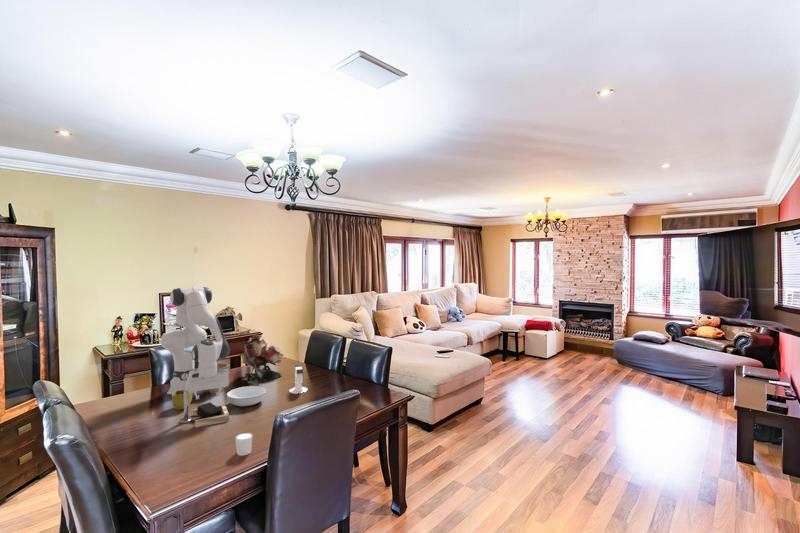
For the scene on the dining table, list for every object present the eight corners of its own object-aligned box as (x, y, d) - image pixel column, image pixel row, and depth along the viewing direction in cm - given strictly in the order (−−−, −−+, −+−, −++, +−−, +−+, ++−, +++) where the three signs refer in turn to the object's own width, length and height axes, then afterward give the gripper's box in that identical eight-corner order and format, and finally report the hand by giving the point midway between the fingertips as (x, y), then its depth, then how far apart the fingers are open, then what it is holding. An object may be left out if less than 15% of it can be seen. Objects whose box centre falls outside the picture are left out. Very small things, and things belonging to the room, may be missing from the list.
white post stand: (309, 392, 239) (309, 368, 239) (290, 394, 235) (290, 370, 235) (306, 386, 250) (306, 363, 250) (288, 388, 246) (288, 365, 246)
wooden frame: (193, 415, 204) (193, 409, 204) (224, 409, 212) (224, 403, 212) (195, 427, 189) (195, 421, 189) (229, 420, 197) (229, 415, 197)
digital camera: (207, 424, 195) (220, 419, 201) (208, 414, 194) (221, 410, 200) (196, 416, 200) (209, 411, 206) (197, 406, 200) (210, 402, 206)
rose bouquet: (288, 374, 276) (288, 333, 276) (254, 386, 251) (254, 340, 251) (264, 369, 289) (263, 330, 289) (229, 379, 264) (229, 336, 264)
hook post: (179, 420, 197) (179, 389, 197) (192, 417, 200) (192, 387, 200) (179, 427, 189) (179, 395, 189) (193, 424, 192) (193, 393, 192)
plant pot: (233, 387, 248) (233, 363, 248) (220, 395, 233) (220, 369, 233) (211, 386, 250) (211, 362, 249) (197, 394, 235) (197, 368, 234)
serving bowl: (252, 411, 209) (252, 399, 208) (218, 408, 213) (218, 396, 213) (272, 398, 229) (272, 387, 229) (241, 395, 233) (241, 384, 233)
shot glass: (254, 448, 168) (254, 432, 168) (249, 456, 161) (249, 439, 161) (239, 448, 168) (239, 432, 168) (232, 456, 161) (232, 440, 161)
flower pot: (171, 411, 208) (171, 395, 208) (176, 406, 217) (176, 390, 216) (189, 410, 211) (189, 394, 210) (193, 404, 219) (193, 388, 219)
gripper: (228, 366, 207) (228, 392, 208) (185, 372, 197) (185, 398, 197) (230, 370, 202) (230, 395, 203) (186, 375, 191) (186, 403, 192)
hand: (207, 397), depth 200 cm, fingers open, 8 cm apart
